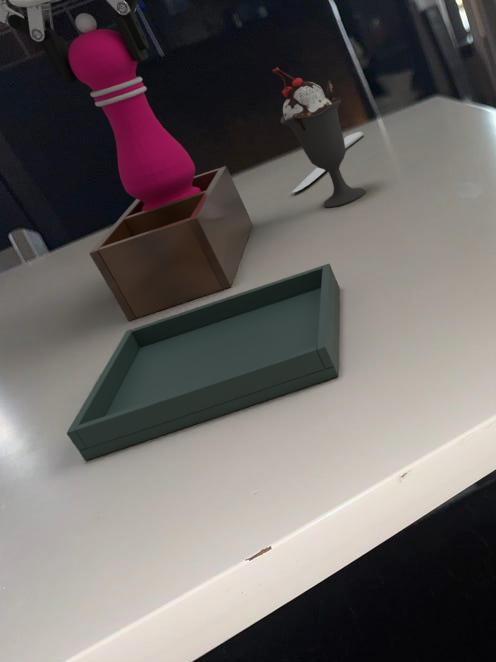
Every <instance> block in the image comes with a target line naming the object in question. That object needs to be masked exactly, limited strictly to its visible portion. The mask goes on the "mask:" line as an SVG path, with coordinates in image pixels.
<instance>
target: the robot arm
mask: <svg viewBox="0 0 496 662" xmlns="http://www.w3.org/2000/svg"><path fill="white" fill-rule="evenodd" d="M8 2H9V3H10V4H12V5H13V6H15V7H18V8H26V13H27V15H25V14H23V13H19V12H17V11H15V10H14V9H12V8H10V7H9V6H8V4H7V0H0V22H1V23H3V24H5V25H8V26H9V27H11V29H14V30H16V31H18V32H20V33H22V34H23V35H26V36H28V37H30V38H31V39H32V40H34V41H35V42H39V44H40V45H41V47H42V49H43V51H44V53H45V55H46V57H47V59H48V61H49V63H50V65H51V66H52V68H53V70H54V72H55V73H56V75H57V76H58V77H62V78H63V80H64V82H65V83H66V84H67V85H69V84H72V83H75V82H78V81H80V80H79V79H78V78H77V77H76V76H75V74H74V73H73V71H72V69H71V66H70V64H69V59H68V52H69V48H70V47H69V45H68V44H67V42H66V39H65V38H64V37H63V36H61V35H59V36H58V34H57V31H56V30H55V27H54V20H53V19H54V18H53V10H52V4H53V3H57V2H61V0H8ZM106 2H107V3H108V4H109V5H110V6H111V7H112V8H113V9H114V12H115V15H116V17H115V19H114V22H115V24H116V27H117V28H118V32H119V33H120V34H121V35H122V37H123V39H124V42H125V44H126V46H127V48H128V50H129V52H130V54H131V56H132V59H133V60H134V61H136V62H137V63H139V62H142V61H145V60H147V59H148V58H149V54H148V52H147V50H149V49H150V45H149V42H148V40H147V37H146V35H145V32H144V31H143V29H142V26H141V23H140V22H139V20H138V18H137V15H136V11H137V6H138V2H139V0H106Z"/></svg>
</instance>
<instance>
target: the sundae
mask: <svg viewBox="0 0 496 662" xmlns="http://www.w3.org/2000/svg"><path fill="white" fill-rule="evenodd" d="M271 72H272V73H273V74H276V75H278V76H280V78H281V79H282V81H283V85H284V89H283V90H282V94H283V97H285V98H286V99H285V100H284V103H283V105H282V106H283V107H282V114H283V115H282V117H281V118H280V123H281V124H282V125H286V126H288V127H289V128H290V129H291V130H292V132H293V134H294V135H295V137H296V139H297V141H298V142H299V144H300V146H301V147H302V150H303V152H304V153H305V156H306V157H307V158H308V160H309V161H310V162H311V164H312V165H313V166H315V167H316V168H317V167H319V168H321V169H324V170H325V172H327V173H328V174H329V176H330V179H331V181H332V186H333V192H332V194H331V195H330V196H329V197H327V199H325V200H324V201H323V203H322V204H323V206H324V207H325V208H336V207H341V206H344V205H347V204H349V203H353V202H354V201H356V200H358V199H359V198H361V197H363V195H365V193H366V189H365V188H363V187H351V186H350V185H348V183H346V181H345V180H344V177H343V176H342V175H343V174H342V173H341V170H340V167H341V164H342V162H343V160H344V159H345V155H346V152H347V151H346V149H345V144H344V139H345V137H344V135H343V131H342V127H341V123H340V118H339V112H338V108H339V105H340V104H341V103H342V101H343V100H342V98H341V97H333V84H332V80H331V79H328V82H327V85H326V90H325V92H324V90H323V88H322V87H321V86H320V85H318V84H316V83H315V82H313V81H306V80H305V81H303V78H300V77H296V78H295V77H292V76H291V75H288V74H287V73H286V72H284V71H282V70H281V69H280V68H279V67H278V66H277V67H275V68H274V69H272V71H271ZM280 73H282V74H283V75H284V76H286V77H288V78H289V79H291V80H293V81H292V82H291V84H292V86H287V84H286V83H287V82H286V80H285V78H284V77H283V75H282V74H280Z"/></svg>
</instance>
